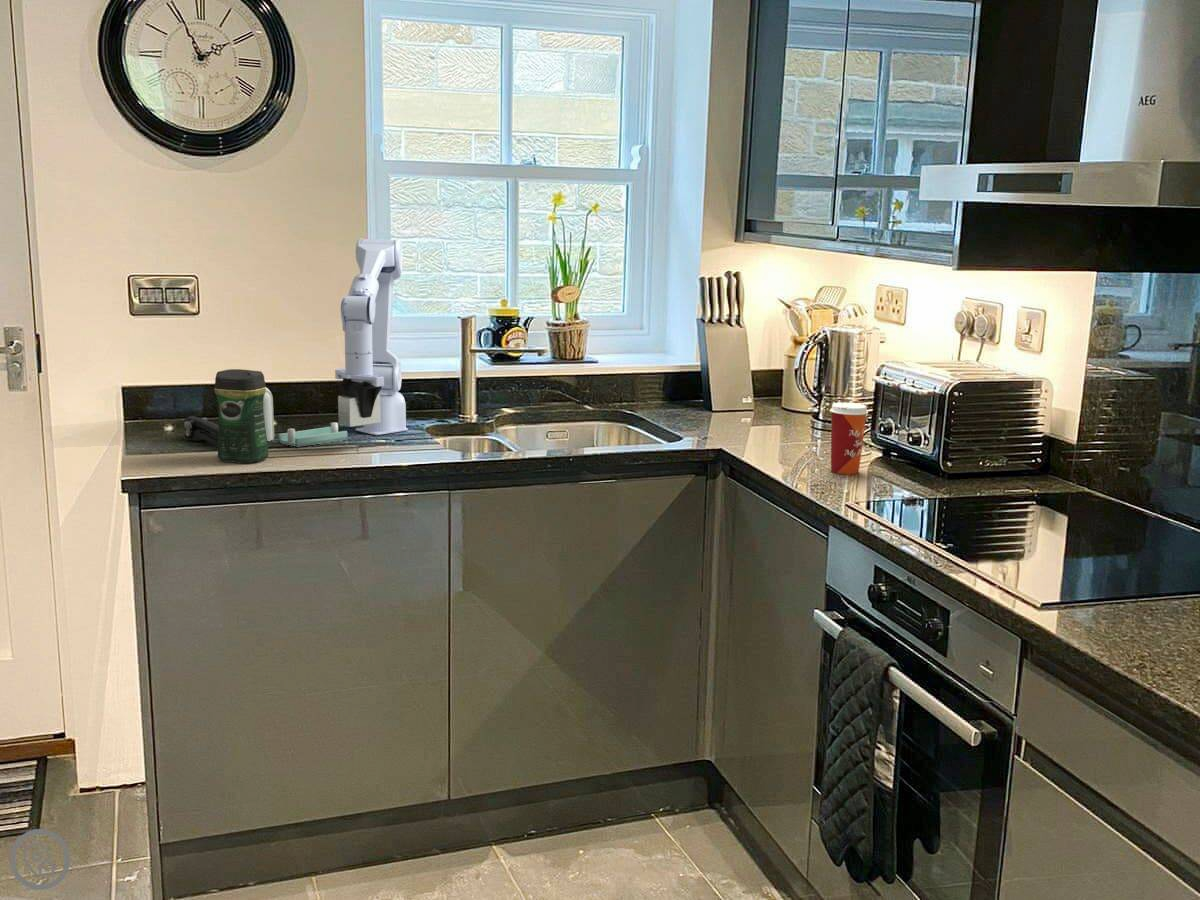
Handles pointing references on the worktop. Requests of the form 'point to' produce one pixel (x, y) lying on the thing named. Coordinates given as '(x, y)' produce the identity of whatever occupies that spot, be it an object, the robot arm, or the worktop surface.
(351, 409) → the light grey rectangular block
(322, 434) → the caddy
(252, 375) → the coffee jar
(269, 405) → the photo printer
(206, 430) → the can opener
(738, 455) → the worktop surface
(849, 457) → the paper cup
